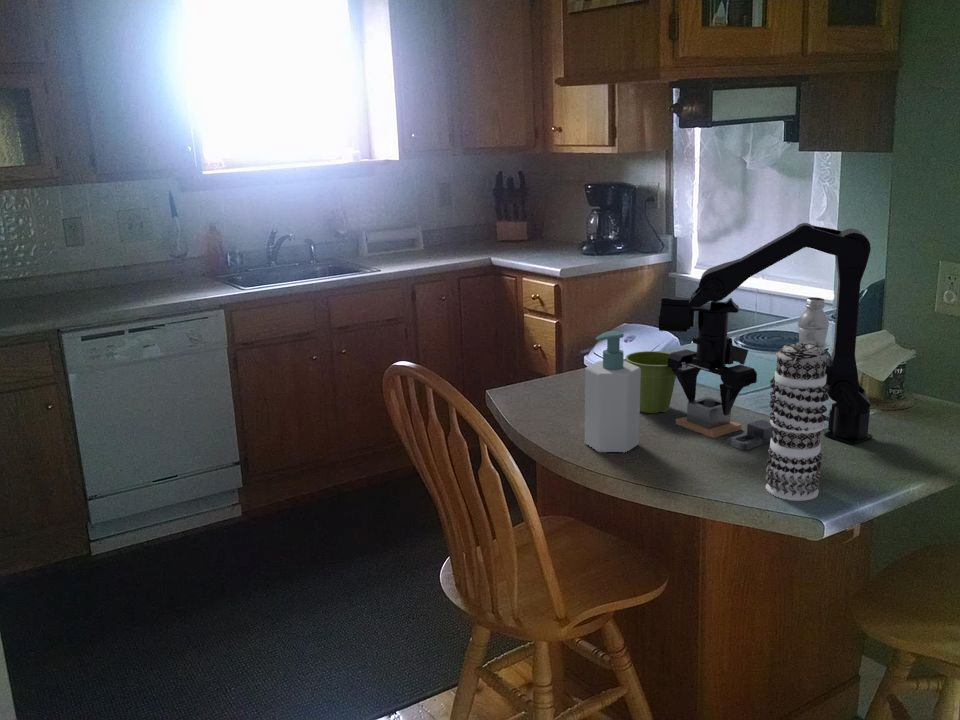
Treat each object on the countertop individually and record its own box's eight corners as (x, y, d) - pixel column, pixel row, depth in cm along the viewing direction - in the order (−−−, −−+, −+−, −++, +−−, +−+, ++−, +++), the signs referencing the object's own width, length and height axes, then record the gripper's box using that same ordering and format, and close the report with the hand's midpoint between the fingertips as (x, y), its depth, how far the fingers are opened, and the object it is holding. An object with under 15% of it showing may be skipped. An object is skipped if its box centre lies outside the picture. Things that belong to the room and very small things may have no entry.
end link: (730, 423, 182) (731, 404, 181) (709, 429, 179) (710, 410, 178) (707, 415, 187) (708, 396, 186) (686, 421, 184) (687, 402, 183)
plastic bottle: (828, 388, 206) (836, 301, 200) (798, 389, 206) (805, 302, 200) (819, 380, 212) (826, 295, 206) (789, 380, 212) (795, 296, 207)
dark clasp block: (777, 439, 176) (778, 425, 175) (743, 450, 171) (744, 435, 170) (760, 434, 179) (761, 419, 178) (726, 444, 174) (727, 429, 173)
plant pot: (685, 417, 189) (687, 365, 186) (627, 418, 190) (629, 365, 187) (675, 399, 201) (677, 350, 198) (621, 400, 201) (622, 350, 198)
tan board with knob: (741, 429, 182) (742, 403, 180) (712, 437, 177) (714, 411, 176) (703, 416, 190) (704, 390, 188) (675, 424, 186) (676, 398, 184)
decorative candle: (776, 503, 148) (787, 355, 141) (754, 481, 157) (763, 340, 150) (830, 500, 149) (843, 352, 142) (805, 478, 158) (817, 337, 151)
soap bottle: (577, 439, 178) (578, 330, 172) (617, 432, 182) (620, 324, 176) (604, 457, 169) (606, 342, 163) (646, 449, 173) (650, 336, 167)
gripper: (778, 336, 175) (773, 413, 179) (705, 318, 190) (702, 390, 194) (738, 345, 169) (734, 424, 173) (666, 326, 184) (664, 400, 189)
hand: (708, 408), depth 183 cm, fingers open, 9 cm apart
